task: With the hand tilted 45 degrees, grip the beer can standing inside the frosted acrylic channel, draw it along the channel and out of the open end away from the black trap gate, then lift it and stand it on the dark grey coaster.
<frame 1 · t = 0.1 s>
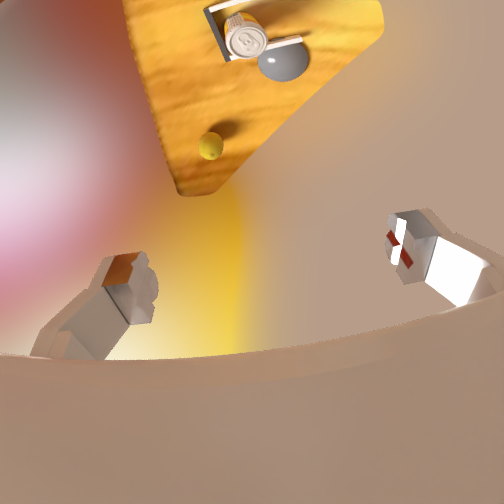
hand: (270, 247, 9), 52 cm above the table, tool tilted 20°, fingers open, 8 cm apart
channel: (256, 21, 40), on the table
lemon: (210, 135, 62), on the table
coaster: (282, 59, 47), on the table
beer can: (240, 25, 41), resting in channel
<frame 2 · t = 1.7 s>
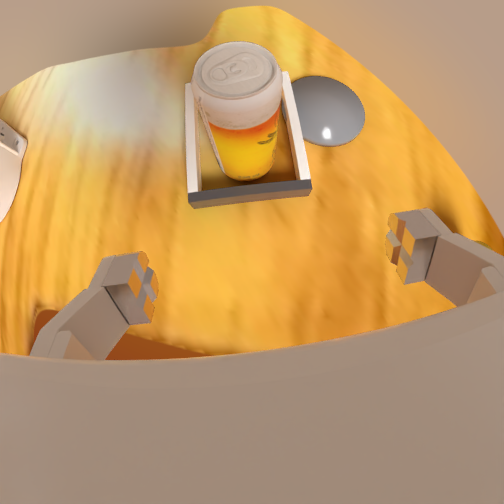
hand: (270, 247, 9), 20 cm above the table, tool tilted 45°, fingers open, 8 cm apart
channel: (243, 134, 30), on the table
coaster: (323, 110, 31), on the table
beer can: (246, 158, 30), resting in channel
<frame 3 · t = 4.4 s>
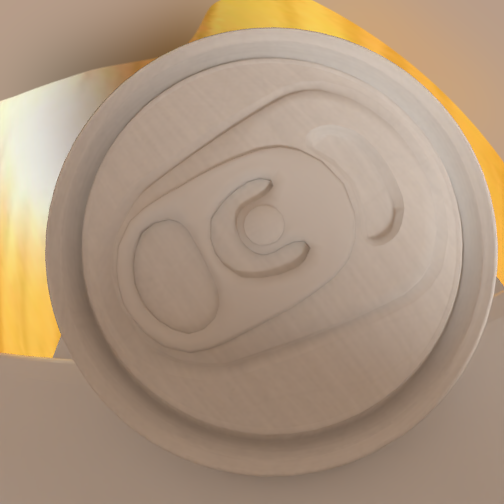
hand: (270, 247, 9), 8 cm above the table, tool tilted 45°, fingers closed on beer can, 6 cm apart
beer can: (272, 276, 18), resting in channel, touching gripper
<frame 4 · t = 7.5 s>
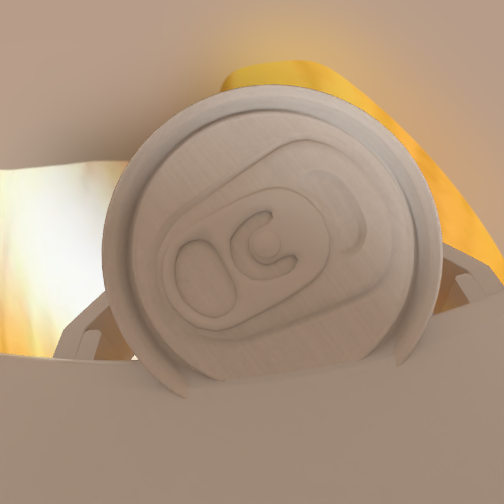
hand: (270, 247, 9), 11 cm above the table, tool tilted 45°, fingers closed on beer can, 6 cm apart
beer can: (272, 276, 19), point 1 cm above the table, touching gripper
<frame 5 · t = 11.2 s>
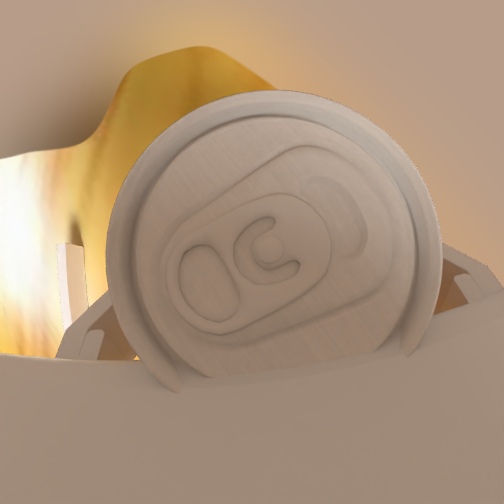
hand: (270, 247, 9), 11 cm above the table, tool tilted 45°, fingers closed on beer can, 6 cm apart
channel: (144, 329, 20), on the table
beer can: (272, 278, 19), point 1 cm above the table, touching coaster, gripper
when the fingers open (11 cm above the table, at t = 11.5 s): beer can stays where it is, resting on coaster.
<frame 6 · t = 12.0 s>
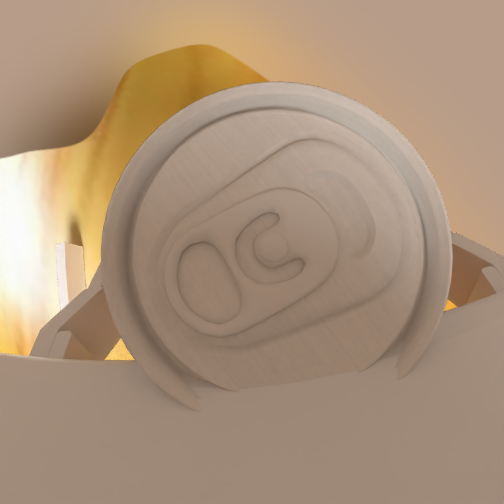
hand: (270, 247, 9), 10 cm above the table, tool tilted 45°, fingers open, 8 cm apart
channel: (144, 329, 20), on the table
beer can: (274, 277, 19), point 1 cm above the table, touching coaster
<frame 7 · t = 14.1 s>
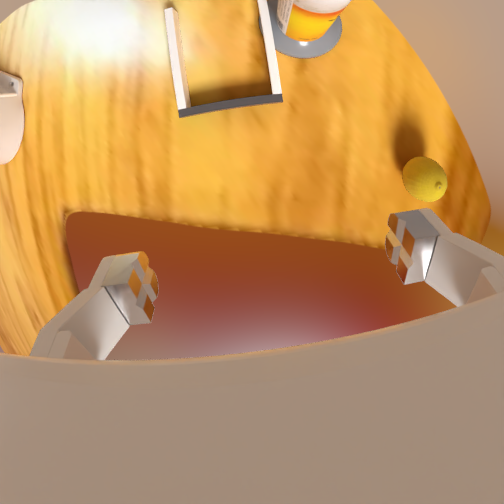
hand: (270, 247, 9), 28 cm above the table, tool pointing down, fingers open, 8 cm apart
channel: (223, 49, 28), on the table
lemon: (409, 171, 34), on the table
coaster: (300, 23, 26), on the table
beer can: (301, 22, 26), point 1 cm above the table, touching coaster
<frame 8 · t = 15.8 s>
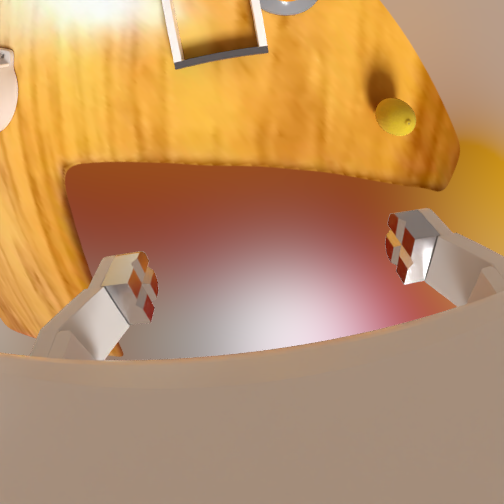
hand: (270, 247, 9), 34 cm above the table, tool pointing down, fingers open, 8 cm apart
channel: (212, 9, 27), on the table
lemon: (382, 110, 37), on the table
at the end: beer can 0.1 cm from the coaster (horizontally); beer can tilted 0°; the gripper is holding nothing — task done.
